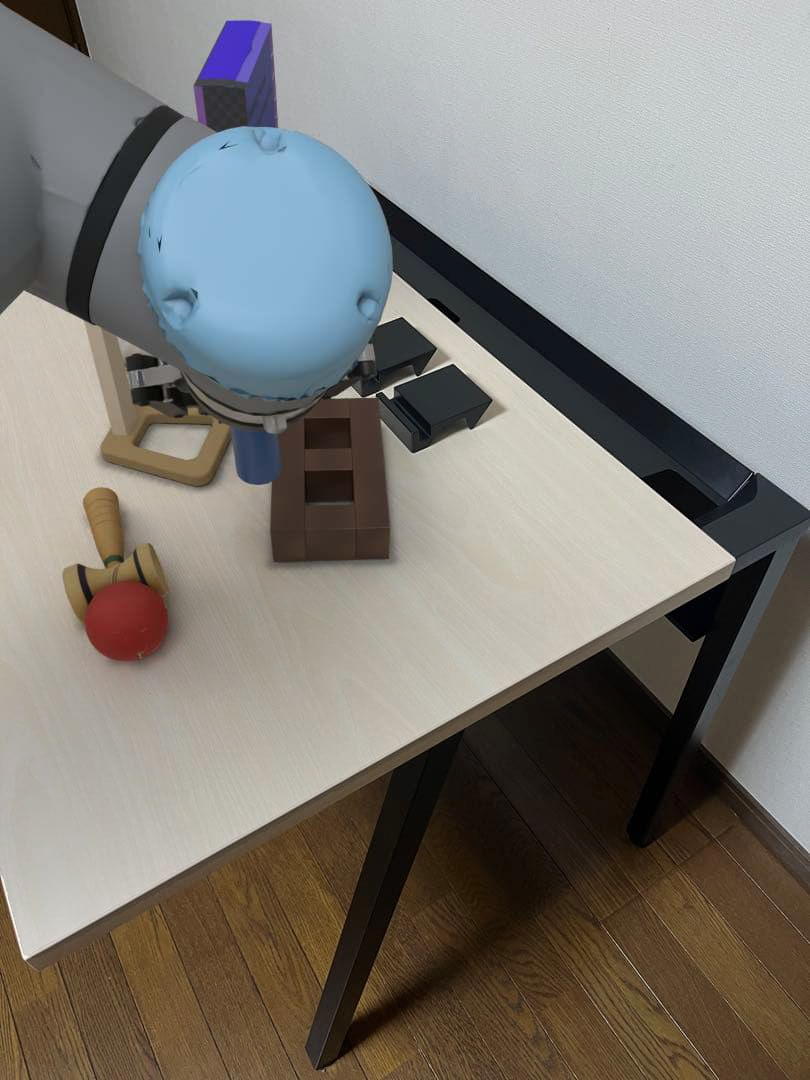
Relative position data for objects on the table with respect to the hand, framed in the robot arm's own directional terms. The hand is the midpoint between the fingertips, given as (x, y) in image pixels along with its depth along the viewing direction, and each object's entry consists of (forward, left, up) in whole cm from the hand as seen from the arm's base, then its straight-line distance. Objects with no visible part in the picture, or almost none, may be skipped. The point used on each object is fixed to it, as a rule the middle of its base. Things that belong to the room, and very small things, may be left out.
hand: (248, 401), depth 63 cm
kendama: (-12, -4, -16) cm, 21 cm away
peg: (+1, -4, -3) cm, 5 cm away
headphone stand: (-9, +14, -16) cm, 23 cm away
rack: (+6, +7, -16) cm, 19 cm away
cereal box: (-2, +45, -16) cm, 48 cm away
